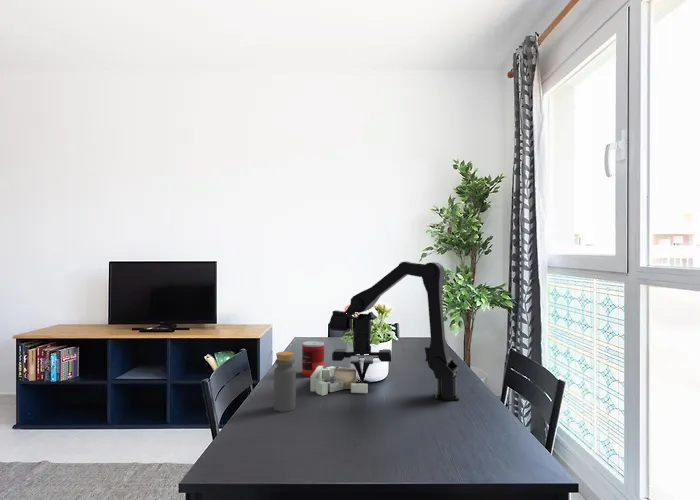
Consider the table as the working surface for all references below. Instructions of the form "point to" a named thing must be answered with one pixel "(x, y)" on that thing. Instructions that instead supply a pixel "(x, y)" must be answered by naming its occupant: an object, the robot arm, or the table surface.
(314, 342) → the canned food
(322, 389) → the dock
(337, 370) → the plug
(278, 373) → the bottle
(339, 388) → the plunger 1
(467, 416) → the table surface
